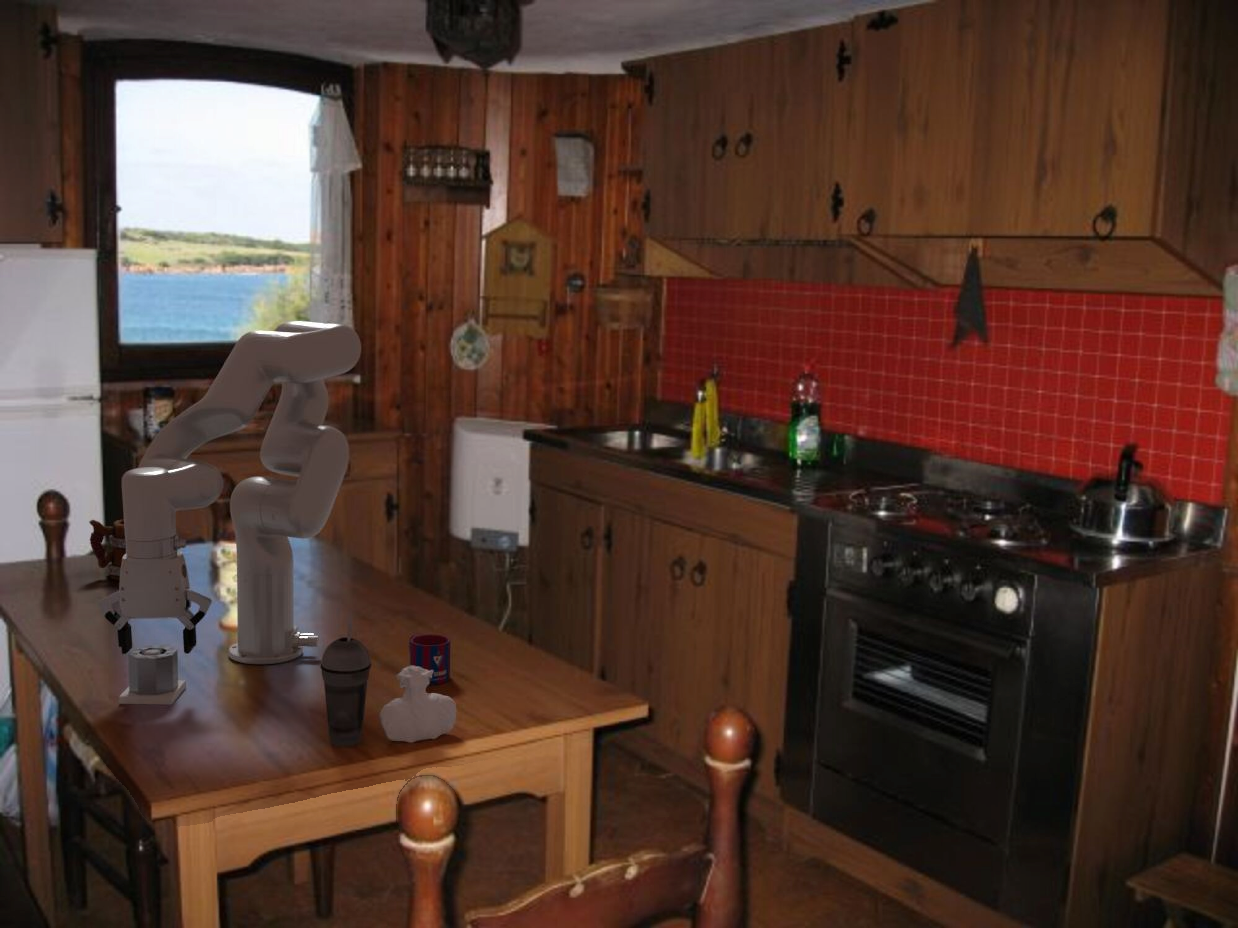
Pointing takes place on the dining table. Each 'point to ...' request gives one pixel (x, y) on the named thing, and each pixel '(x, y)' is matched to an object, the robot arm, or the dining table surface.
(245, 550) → the robot arm
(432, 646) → the cup
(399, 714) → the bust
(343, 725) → the beverage cup
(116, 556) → the mug
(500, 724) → the dining table surface
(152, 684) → the ring
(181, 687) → the shaft block
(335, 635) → the dining table surface
